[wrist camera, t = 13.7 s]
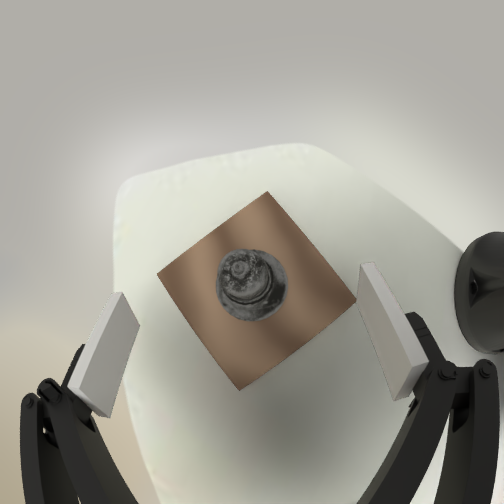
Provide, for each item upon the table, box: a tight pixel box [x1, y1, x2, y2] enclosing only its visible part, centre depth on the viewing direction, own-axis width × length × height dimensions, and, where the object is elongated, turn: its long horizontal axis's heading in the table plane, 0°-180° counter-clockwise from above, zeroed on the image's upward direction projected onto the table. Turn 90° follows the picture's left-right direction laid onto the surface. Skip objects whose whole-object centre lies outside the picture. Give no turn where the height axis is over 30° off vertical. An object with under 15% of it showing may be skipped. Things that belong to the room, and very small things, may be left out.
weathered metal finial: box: [216, 249, 288, 321], centre depth 20 cm, size 6×6×12 cm
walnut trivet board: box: [157, 191, 357, 391], centre depth 27 cm, size 14×14×2 cm
